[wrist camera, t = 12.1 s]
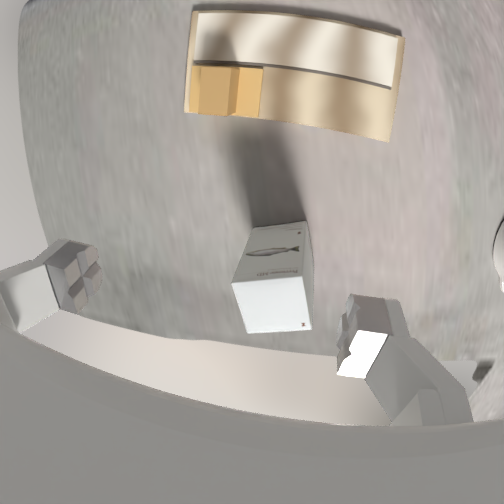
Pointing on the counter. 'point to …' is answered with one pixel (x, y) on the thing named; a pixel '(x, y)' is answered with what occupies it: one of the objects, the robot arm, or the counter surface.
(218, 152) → the counter surface
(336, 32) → the board
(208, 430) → the robot arm
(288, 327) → the supplement box
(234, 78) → the stepped wooden block
